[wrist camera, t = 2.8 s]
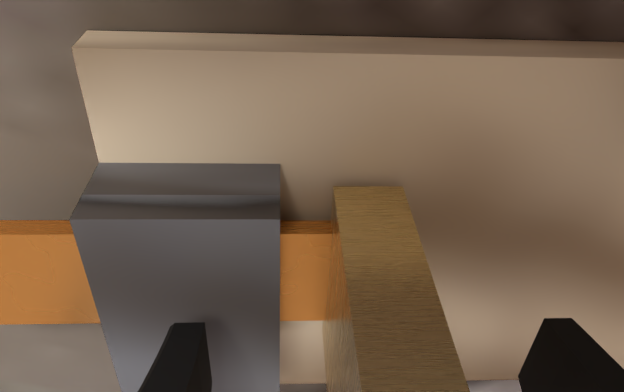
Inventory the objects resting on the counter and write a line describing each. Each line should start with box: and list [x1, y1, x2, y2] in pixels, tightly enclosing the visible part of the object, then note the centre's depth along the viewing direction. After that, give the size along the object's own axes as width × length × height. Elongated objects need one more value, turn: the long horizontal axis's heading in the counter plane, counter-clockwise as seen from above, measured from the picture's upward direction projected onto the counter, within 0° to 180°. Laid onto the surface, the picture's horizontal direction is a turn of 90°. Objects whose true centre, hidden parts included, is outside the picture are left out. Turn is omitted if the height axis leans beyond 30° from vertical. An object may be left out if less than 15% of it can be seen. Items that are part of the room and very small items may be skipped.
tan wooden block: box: [0, 186, 470, 392], centre depth 10 cm, size 5×11×7 cm, turn 88°
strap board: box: [69, 30, 624, 392], centre depth 13 cm, size 11×20×3 cm, turn 88°
